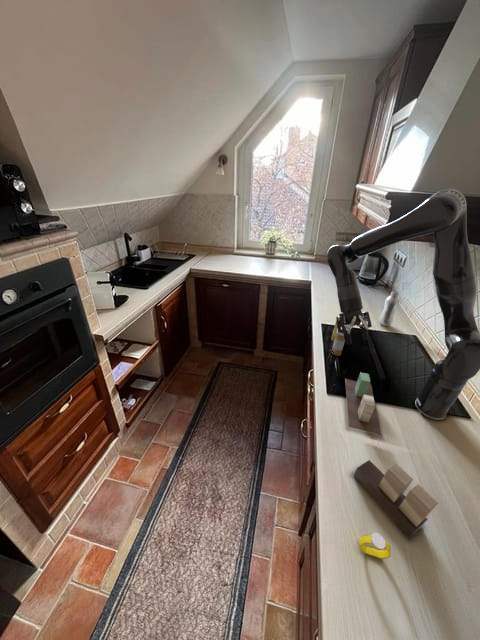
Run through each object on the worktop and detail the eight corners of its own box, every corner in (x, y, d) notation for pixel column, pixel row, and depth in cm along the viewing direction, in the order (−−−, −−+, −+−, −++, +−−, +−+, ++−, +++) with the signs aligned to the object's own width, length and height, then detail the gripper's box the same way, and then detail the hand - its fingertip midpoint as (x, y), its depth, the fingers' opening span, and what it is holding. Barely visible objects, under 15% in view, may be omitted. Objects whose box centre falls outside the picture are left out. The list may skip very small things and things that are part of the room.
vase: (331, 335, 134) (337, 312, 127) (343, 338, 132) (350, 314, 125) (330, 341, 129) (336, 317, 122) (343, 344, 127) (350, 319, 120)
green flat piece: (355, 395, 96) (361, 380, 92) (354, 387, 100) (360, 372, 96) (364, 397, 95) (370, 381, 91) (363, 389, 99) (368, 373, 95)
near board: (344, 380, 105) (349, 363, 100) (370, 386, 102) (377, 368, 98) (348, 428, 85) (355, 410, 80) (380, 436, 82) (389, 418, 78)
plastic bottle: (388, 328, 141) (401, 296, 131) (376, 324, 145) (387, 292, 135) (392, 324, 145) (404, 292, 135) (379, 320, 149) (390, 288, 139)
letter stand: (365, 467, 73) (377, 441, 67) (421, 526, 61) (442, 501, 55) (353, 475, 71) (365, 450, 65) (408, 538, 59) (429, 514, 53)
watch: (384, 550, 57) (393, 538, 54) (387, 565, 55) (396, 554, 52) (356, 539, 59) (363, 527, 56) (357, 554, 56) (364, 542, 53)
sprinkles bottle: (333, 349, 123) (340, 325, 117) (342, 353, 121) (349, 329, 114) (329, 353, 120) (335, 329, 114) (338, 357, 118) (345, 333, 111)
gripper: (342, 298, 87) (351, 345, 86) (371, 294, 92) (380, 338, 91) (327, 302, 94) (335, 345, 93) (355, 298, 99) (363, 339, 98)
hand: (357, 342), depth 92 cm, fingers open, 8 cm apart
